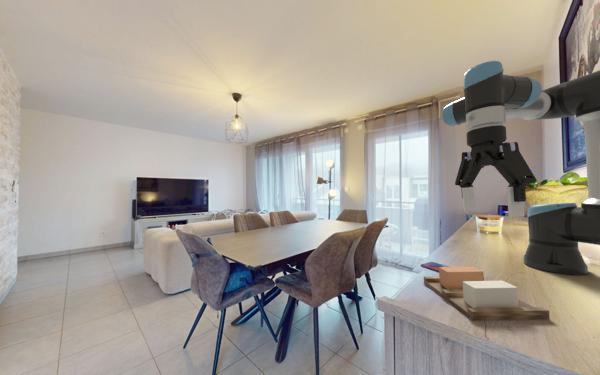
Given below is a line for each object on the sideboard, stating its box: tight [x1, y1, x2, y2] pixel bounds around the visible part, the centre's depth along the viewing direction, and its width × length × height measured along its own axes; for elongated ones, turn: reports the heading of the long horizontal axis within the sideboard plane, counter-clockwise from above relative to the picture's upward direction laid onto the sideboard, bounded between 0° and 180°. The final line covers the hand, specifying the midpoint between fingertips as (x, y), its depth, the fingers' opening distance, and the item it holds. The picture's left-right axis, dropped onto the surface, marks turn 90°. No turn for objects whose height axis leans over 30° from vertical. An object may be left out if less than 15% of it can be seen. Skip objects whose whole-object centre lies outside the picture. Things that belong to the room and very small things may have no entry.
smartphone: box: [420, 261, 450, 273], centre depth 79 cm, size 7×15×1 cm, turn 24°
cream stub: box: [463, 280, 519, 308], centre depth 54 cm, size 10×4×5 cm, turn 89°
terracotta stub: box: [438, 266, 485, 289], centre depth 64 cm, size 10×4×5 cm, turn 88°
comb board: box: [423, 275, 551, 322], centre depth 59 cm, size 17×20×2 cm
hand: (489, 213), depth 54 cm, fingers open, 13 cm apart
